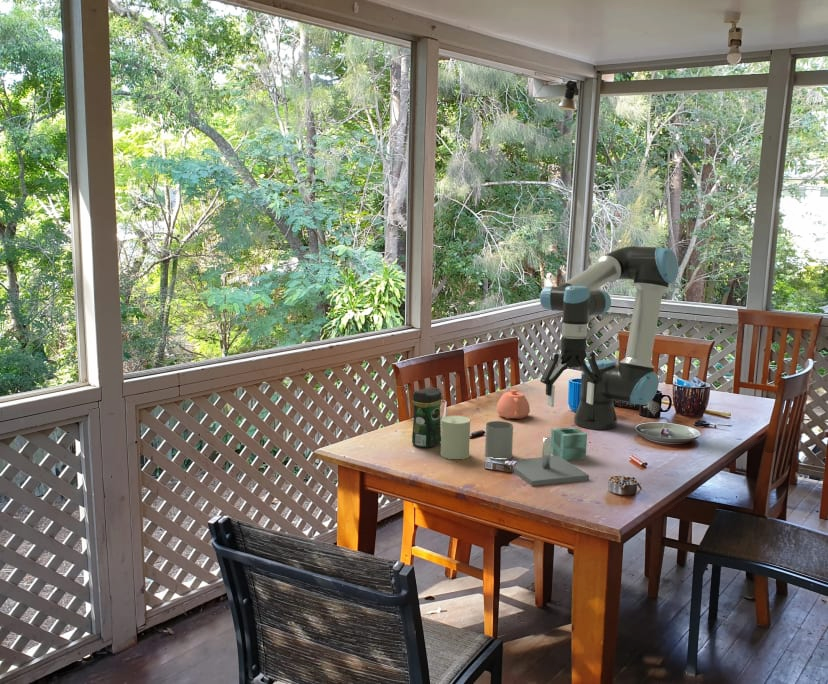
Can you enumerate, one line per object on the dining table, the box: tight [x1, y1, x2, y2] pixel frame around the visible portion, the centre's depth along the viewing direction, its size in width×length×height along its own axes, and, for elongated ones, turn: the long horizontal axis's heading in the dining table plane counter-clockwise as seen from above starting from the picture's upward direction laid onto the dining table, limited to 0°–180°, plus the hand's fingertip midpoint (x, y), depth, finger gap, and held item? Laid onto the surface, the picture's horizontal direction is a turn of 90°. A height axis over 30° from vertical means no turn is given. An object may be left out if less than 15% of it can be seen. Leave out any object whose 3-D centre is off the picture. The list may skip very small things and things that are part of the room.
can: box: [439, 415, 471, 460], centre depth 238 cm, size 9×9×12 cm
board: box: [513, 455, 590, 487], centre depth 224 cm, size 18×18×2 cm
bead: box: [550, 426, 588, 462], centre depth 239 cm, size 8×8×8 cm
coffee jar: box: [411, 386, 442, 448], centre depth 248 cm, size 10×8×19 cm
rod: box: [541, 436, 552, 469], centre depth 223 cm, size 2×2×9 cm
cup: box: [484, 420, 514, 460], centre depth 238 cm, size 8×8×10 cm
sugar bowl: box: [495, 389, 531, 420], centre depth 283 cm, size 12×14×10 cm
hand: (570, 404), depth 237 cm, fingers open, 13 cm apart
